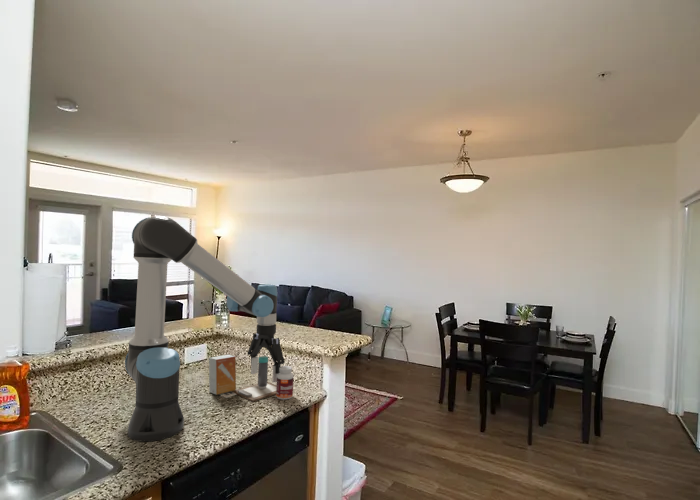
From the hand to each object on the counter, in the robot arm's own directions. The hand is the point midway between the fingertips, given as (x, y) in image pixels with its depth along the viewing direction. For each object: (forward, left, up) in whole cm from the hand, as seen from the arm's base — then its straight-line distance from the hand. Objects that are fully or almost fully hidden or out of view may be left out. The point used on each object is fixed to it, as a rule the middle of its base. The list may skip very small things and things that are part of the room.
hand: (264, 377), depth 155 cm
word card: (-12, +5, -5) cm, 14 cm away
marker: (-1, 0, -4) cm, 4 cm away
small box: (-13, +8, -4) cm, 16 cm away
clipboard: (-3, -1, -5) cm, 6 cm away
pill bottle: (0, -12, -5) cm, 13 cm away
